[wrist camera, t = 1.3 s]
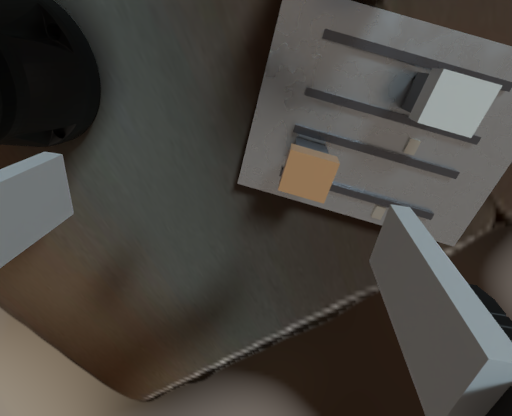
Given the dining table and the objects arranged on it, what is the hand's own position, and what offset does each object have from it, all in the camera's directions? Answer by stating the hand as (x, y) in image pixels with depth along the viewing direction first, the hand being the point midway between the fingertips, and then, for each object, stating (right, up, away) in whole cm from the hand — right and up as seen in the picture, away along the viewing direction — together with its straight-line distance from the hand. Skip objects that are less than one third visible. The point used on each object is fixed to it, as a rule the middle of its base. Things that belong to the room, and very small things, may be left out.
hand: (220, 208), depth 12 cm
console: (+13, +8, +18) cm, 23 cm away
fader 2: (+16, +10, +14) cm, 23 cm away
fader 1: (+6, +5, +17) cm, 19 cm away
